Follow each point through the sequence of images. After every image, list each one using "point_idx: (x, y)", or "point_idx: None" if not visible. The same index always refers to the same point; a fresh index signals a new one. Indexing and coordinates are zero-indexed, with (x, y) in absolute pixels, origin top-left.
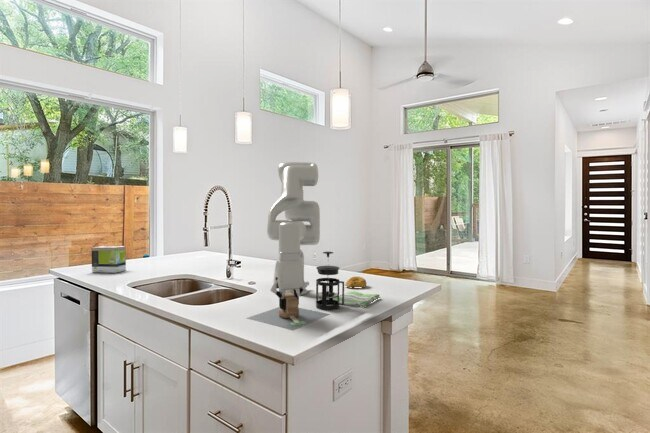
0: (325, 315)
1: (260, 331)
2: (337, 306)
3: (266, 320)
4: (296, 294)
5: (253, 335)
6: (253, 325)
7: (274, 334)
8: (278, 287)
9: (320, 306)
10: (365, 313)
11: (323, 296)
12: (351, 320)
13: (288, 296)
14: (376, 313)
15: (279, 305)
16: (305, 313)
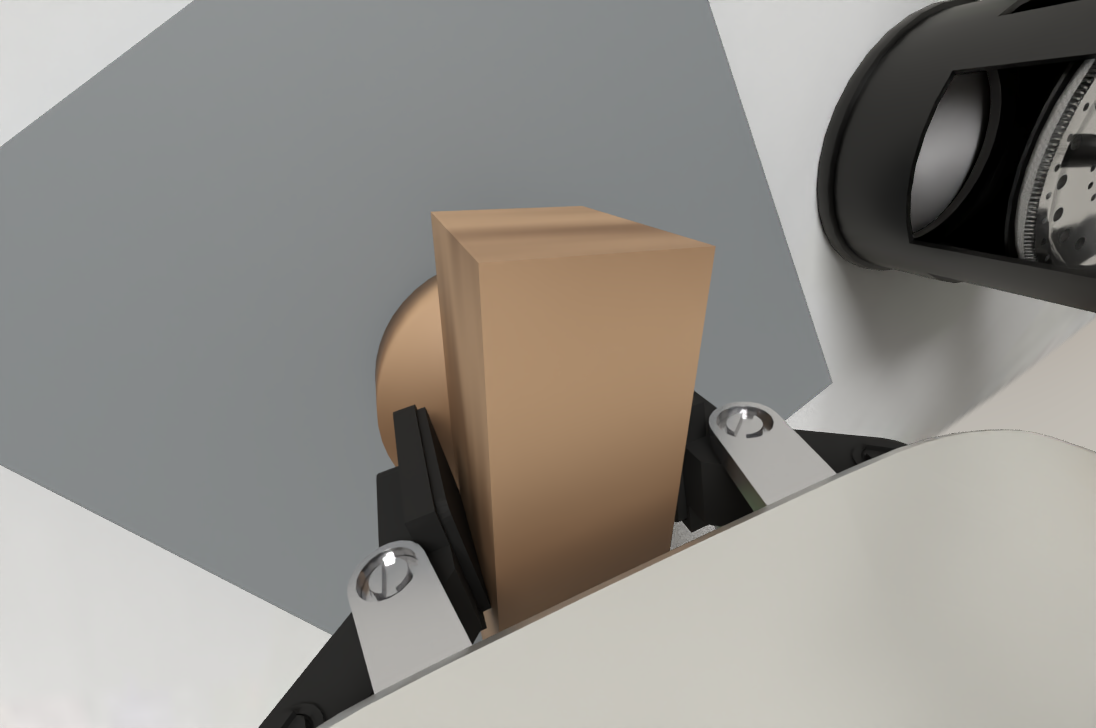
0: (789, 407)
1: (143, 609)
2: (990, 248)
3: (191, 479)
4: (722, 525)
5: (72, 691)
6: None
7: (291, 658)
8: (379, 714)
9: (887, 223)
10: (1026, 314)
11: (1029, 279)
12: (876, 433)
13: (564, 578)
14: (1060, 331)
15: (379, 486)
16: None
